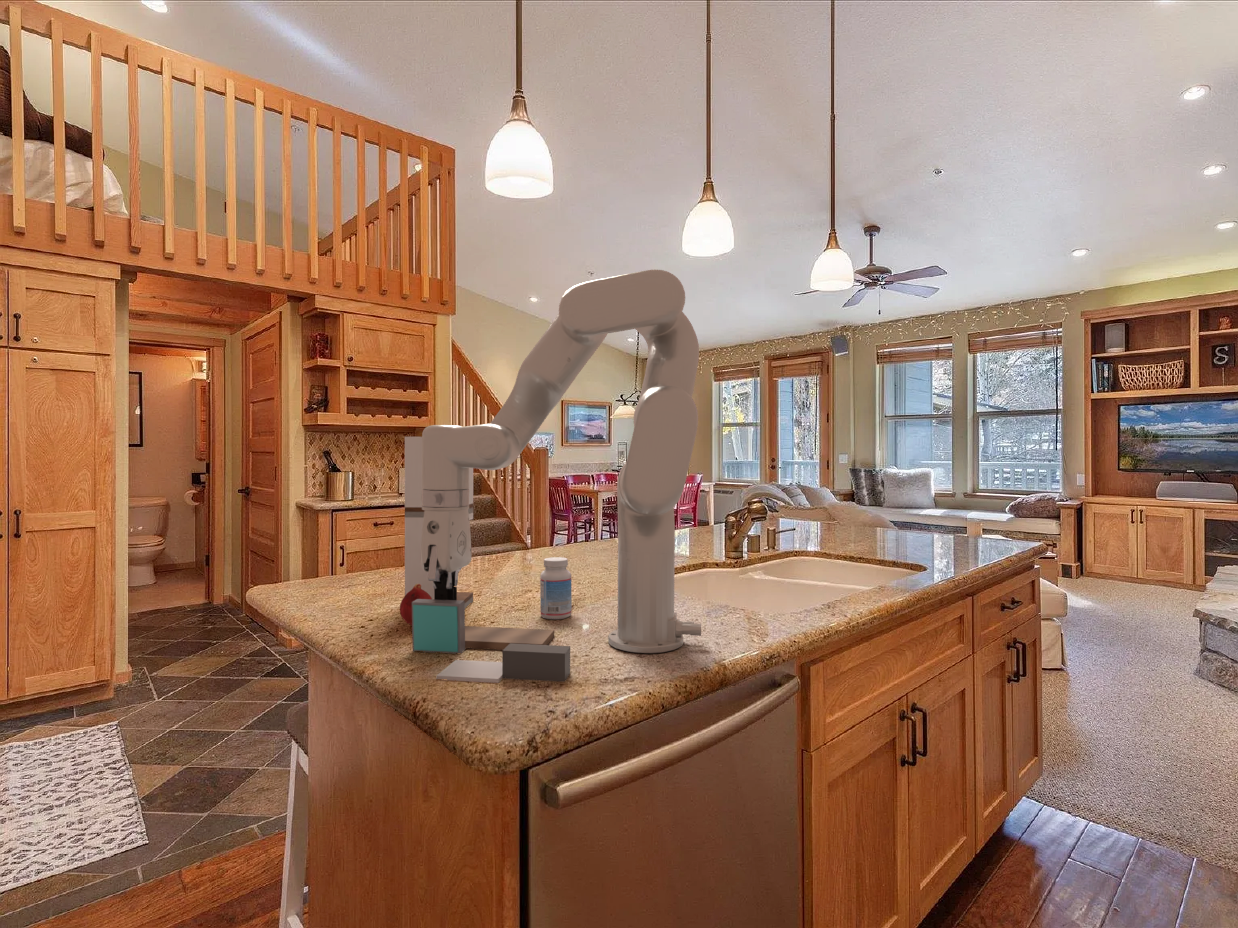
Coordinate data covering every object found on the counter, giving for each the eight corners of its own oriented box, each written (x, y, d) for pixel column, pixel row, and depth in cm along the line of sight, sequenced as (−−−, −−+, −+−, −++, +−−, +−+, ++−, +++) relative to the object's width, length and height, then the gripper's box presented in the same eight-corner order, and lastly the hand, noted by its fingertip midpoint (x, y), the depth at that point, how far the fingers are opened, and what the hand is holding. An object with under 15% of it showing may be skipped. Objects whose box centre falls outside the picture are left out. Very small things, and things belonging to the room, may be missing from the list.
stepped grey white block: (572, 669, 93) (572, 642, 93) (562, 686, 86) (562, 657, 86) (455, 663, 96) (455, 637, 96) (436, 679, 89) (436, 651, 89)
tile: (465, 649, 102) (464, 600, 102) (459, 654, 100) (459, 604, 99) (418, 647, 103) (417, 598, 103) (411, 652, 101) (410, 602, 101)
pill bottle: (577, 615, 125) (577, 558, 124) (558, 621, 119) (558, 562, 119) (553, 610, 128) (553, 555, 128) (533, 617, 123) (533, 559, 123)
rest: (554, 636, 110) (554, 629, 110) (541, 651, 101) (541, 644, 101) (455, 632, 112) (455, 625, 112) (434, 646, 104) (434, 639, 104)
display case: (458, 615, 124) (458, 436, 124) (404, 614, 124) (404, 436, 124) (473, 601, 136) (473, 438, 135) (423, 601, 136) (423, 438, 135)
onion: (423, 633, 111) (423, 587, 111) (393, 631, 113) (393, 586, 112) (439, 624, 117) (439, 581, 117) (410, 622, 118) (410, 580, 118)
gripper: (448, 504, 96) (448, 624, 96) (483, 497, 111) (483, 602, 111) (402, 503, 97) (402, 622, 97) (443, 497, 112) (442, 600, 112)
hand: (445, 611), depth 104 cm, fingers closed
